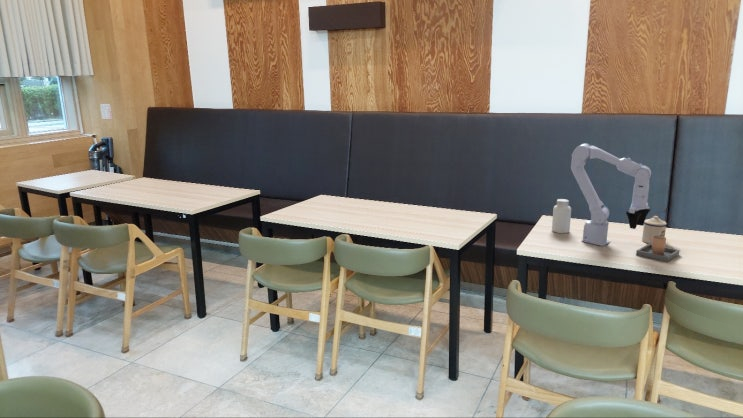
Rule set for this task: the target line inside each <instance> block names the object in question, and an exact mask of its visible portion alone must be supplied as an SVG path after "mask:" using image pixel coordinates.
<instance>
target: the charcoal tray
mask: <svg viewBox="0 0 743 418" xmlns="http://www.w3.org/2000/svg"><path fill="white" fill-rule="evenodd" d="M651 248H652V244H648V243H647V244H645V245H644V246H642V247H640V248H638V249H637V250H636V251H635V252H636V253H635V256H638V257H641V258H647V259H651V260H655V261H659V262H664V263H669V262H671V261H672V260H673V259H675V258H676V257H678V256H680V249H674V248H670V247H668V246H667V247H666V246H665V251H664V255H663V256H661V255H657V254H652V253H651Z"/></svg>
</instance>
